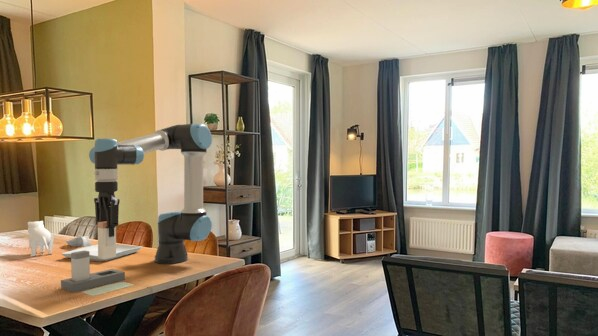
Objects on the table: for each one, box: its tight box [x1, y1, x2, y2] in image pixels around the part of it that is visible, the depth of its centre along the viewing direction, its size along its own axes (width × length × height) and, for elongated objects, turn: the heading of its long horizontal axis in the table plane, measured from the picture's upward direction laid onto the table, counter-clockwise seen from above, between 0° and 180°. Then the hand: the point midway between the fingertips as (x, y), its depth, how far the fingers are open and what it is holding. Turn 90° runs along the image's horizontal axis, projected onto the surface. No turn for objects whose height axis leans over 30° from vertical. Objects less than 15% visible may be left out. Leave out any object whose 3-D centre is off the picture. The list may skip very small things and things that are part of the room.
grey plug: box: [70, 250, 91, 282], centre depth 158 cm, size 5×4×13 cm
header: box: [60, 268, 126, 294], centre depth 162 cm, size 20×9×4 cm, turn 144°
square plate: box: [60, 243, 143, 262], centre depth 217 cm, size 27×27×4 cm
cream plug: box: [97, 221, 117, 259], centre depth 156 cm, size 5×4×13 cm
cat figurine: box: [23, 220, 55, 258], centre depth 221 cm, size 25×10×17 cm, turn 47°
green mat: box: [81, 281, 134, 297], centre depth 157 cm, size 16×8×1 cm, turn 144°
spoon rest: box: [65, 235, 93, 248], centre depth 240 cm, size 24×12×7 cm, turn 44°
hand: (107, 244), depth 156 cm, fingers closed on cream plug, 3 cm apart
